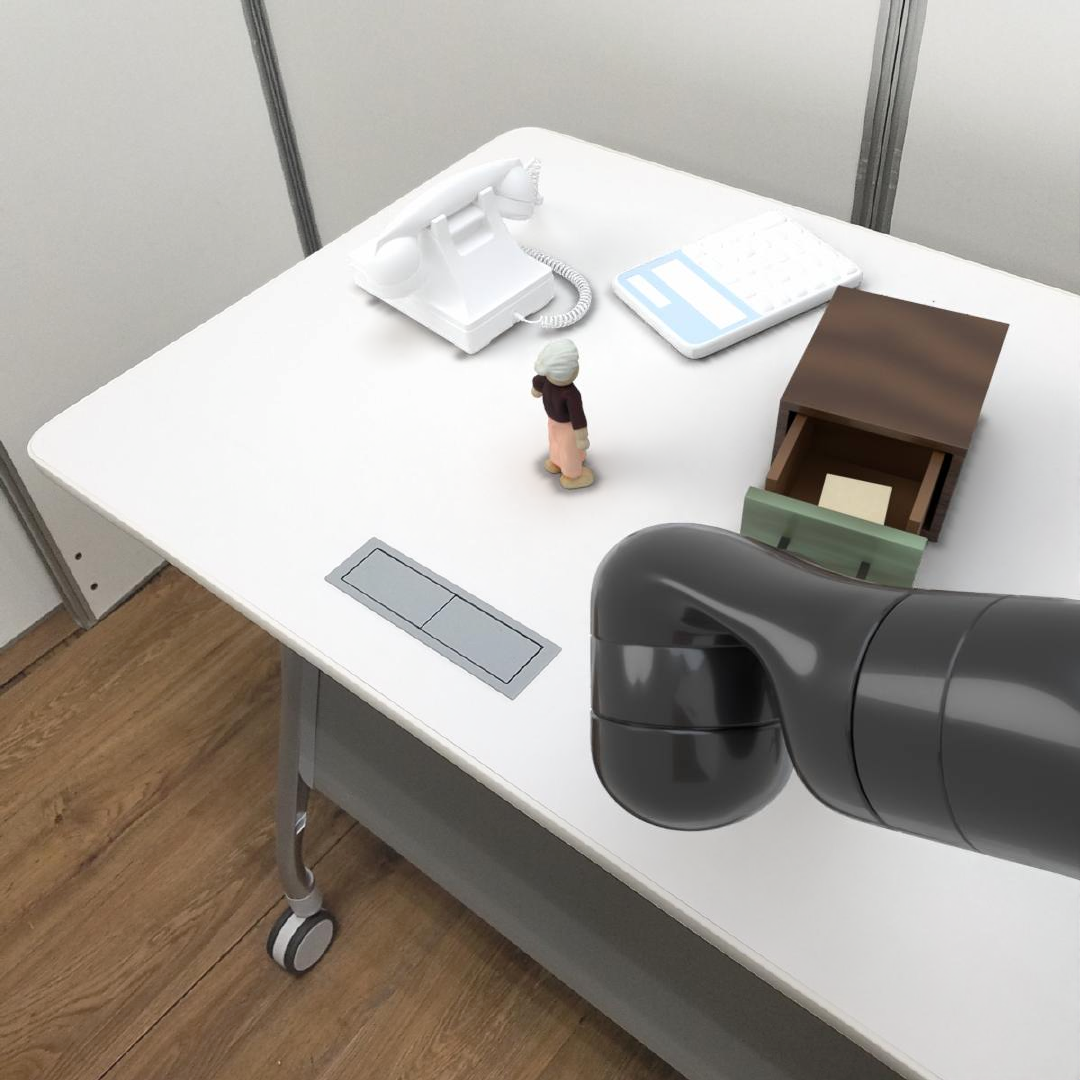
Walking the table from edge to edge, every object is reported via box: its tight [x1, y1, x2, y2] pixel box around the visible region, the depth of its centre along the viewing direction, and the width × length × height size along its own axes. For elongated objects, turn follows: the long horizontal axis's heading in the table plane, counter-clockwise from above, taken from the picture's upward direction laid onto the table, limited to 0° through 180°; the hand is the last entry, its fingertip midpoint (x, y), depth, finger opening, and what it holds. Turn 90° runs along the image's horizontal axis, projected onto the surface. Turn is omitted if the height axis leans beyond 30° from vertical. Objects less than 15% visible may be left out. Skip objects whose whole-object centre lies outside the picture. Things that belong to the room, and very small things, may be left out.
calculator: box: [611, 210, 864, 360], centre depth 102 cm, size 13×20×2 cm, turn 121°
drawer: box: [739, 413, 947, 588], centre depth 77 cm, size 18×12×8 cm
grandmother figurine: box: [530, 337, 595, 490], centre depth 84 cm, size 8×4×13 cm, turn 42°
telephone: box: [348, 157, 593, 355], centre depth 100 cm, size 25×21×12 cm
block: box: [818, 474, 892, 525], centre depth 77 cm, size 4×4×4 cm
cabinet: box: [769, 285, 1010, 543], centre depth 84 cm, size 15×13×10 cm
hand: (804, 600), depth 70 cm, fingers closed
